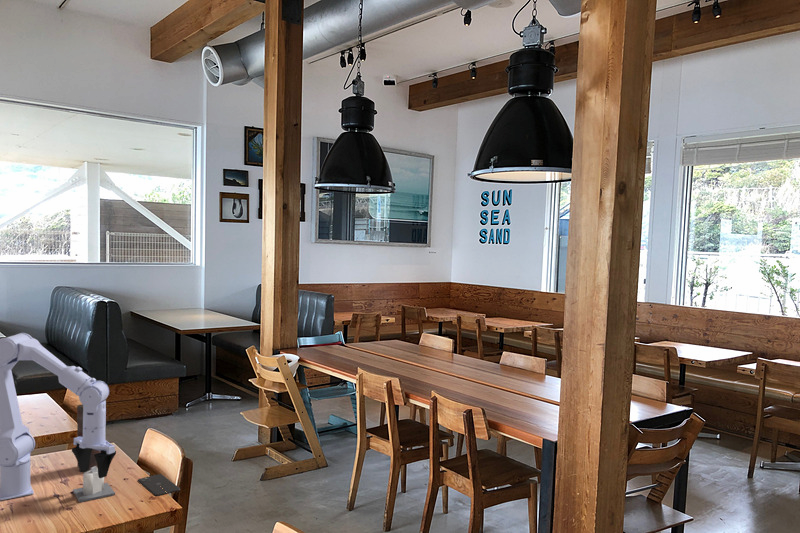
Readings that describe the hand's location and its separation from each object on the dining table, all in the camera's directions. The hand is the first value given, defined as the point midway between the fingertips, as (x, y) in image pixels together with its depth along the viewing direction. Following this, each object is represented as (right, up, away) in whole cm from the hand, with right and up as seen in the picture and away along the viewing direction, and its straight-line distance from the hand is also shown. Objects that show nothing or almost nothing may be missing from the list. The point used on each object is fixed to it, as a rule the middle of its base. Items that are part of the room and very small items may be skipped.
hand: (93, 474), depth 175 cm
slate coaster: (0, -5, 0) cm, 5 cm away
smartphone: (+15, -6, +7) cm, 18 cm away
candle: (-10, -5, +19) cm, 22 cm away
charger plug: (0, -5, 0) cm, 5 cm away
